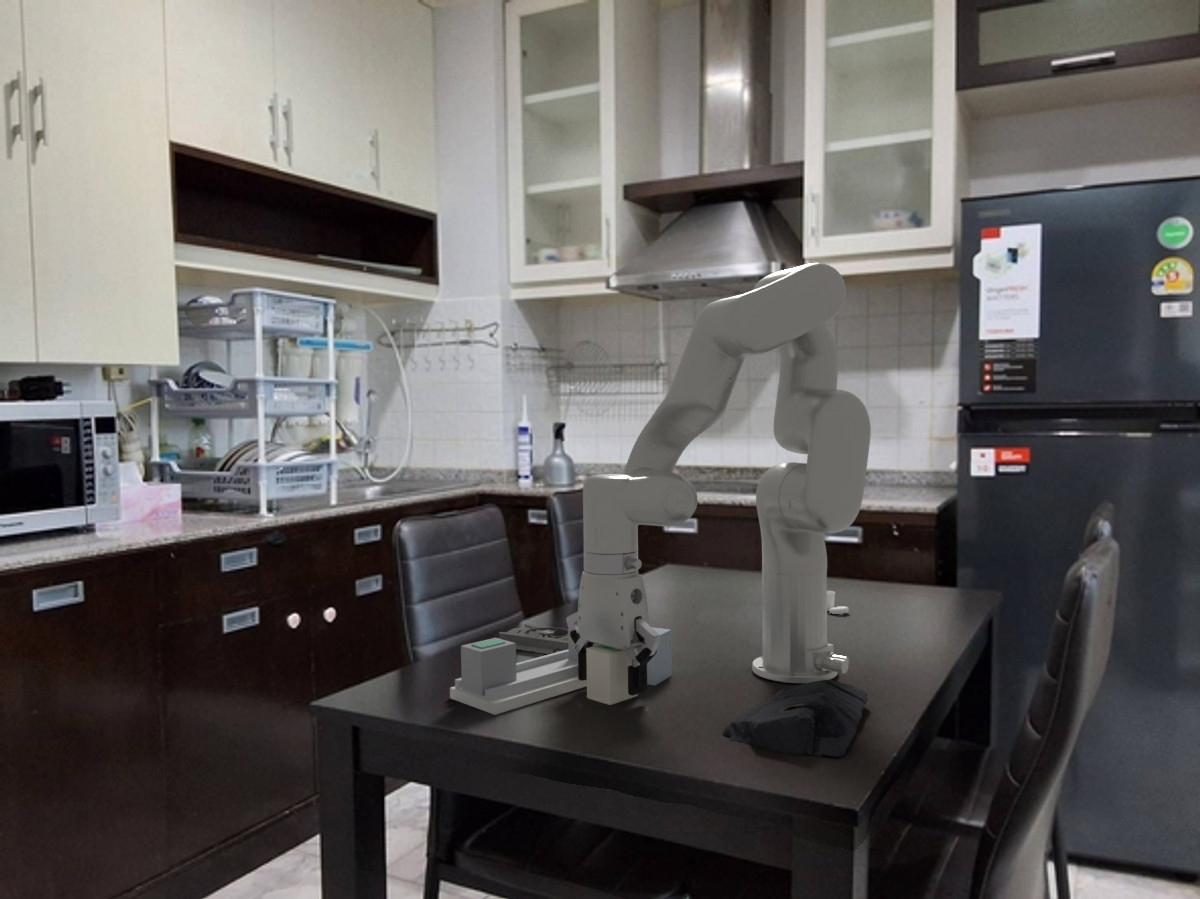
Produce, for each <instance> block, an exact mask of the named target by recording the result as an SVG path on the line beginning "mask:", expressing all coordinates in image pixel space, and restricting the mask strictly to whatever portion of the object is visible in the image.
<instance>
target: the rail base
mask: <svg viewBox="0 0 1200 899" xmlns="http://www.w3.org/2000/svg"><path fill="white" fill-rule="evenodd" d="M582 688H583V689H584V688H587V680H584V681H581V680H579V679H578V662H576V661H573V660H569V651H568V650H564V651H560V652H556V653H553V654H549V655H545V656H538V657H535V658H530V659H527V660H524V661H519V662H516V681H515V682H511V683H508V684H504V685H501V686H497V687H494V688H490V689H487V690H485V695H484V696H480V695H477V694H474V693H472V692H469V691H466V690H463V689H462V677H459V678H456V679H454V686H451V687H449V698H450V699H451V700H454V701H456V702H460V703H462V704H465V705H467V706H470V707H472V708H473V707H474V708H476V709H479V710H480V711H484V712H486V713H489V714H491V715H494V716H495V715H499V714H501V713H505V712H509V711H512V710H515V709H519V708H521V707H524V706H527V705H531V704H534V703H537V702H540V701H544V700H546V699H547V700H548V699H550V698H553V697H556V696H557V697H558V696H560V695H563V694H566V693H569V692H572V691H573V692H574V691H575V690H578V689H579V690H580V689H582Z"/></svg>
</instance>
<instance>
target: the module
mask: <svg viewBox="0 0 1200 899" xmlns="http://www.w3.org/2000/svg"><path fill="white" fill-rule="evenodd" d="M650 627H651V628H653V629H654V630H655V631H656V632H657V633H658V634H659V635H660V636H661V641H660V644H659V646H658V648H657V649H656V650H657V653H656V654H655V656H654V657H653V658H652V659H651V662H650V663H647V685H649V686H657V685H658V684H660V683H661V682H664V681H665V680H667V679H669V678H670V677H672V676H673V675H672V674H673V673H672V672H673V671H672V668H673V667H672V665H673V664H672V663H673V662H672V660H673V659H672V629H671V628H670V629H669V628H660V627H653V626H650ZM644 646H646V644H644ZM638 654H639V653H638V651H637V655H638Z"/></svg>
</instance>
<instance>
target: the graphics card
mask: <svg viewBox="0 0 1200 899" xmlns="http://www.w3.org/2000/svg"><path fill="white" fill-rule="evenodd" d="M523 625H524V626H522V627H515V628H511V629H510V630H508V631H506V632H504V631H499V633H498V636H499V637H498V638H499V639H502V640H506V641H510V642H513V643H516V650H520V649H521V651H527V652H532V651H533V652H532V653H533V654H534V655H533V656H538V657H541V656H543V655H544V654H547V655H549V654H553V653H556V652H560V651H564V650H568V628H563V627H556V626H555V627H552V626H546V625H539V624H538V625H536V624H530V623H526V624H525V623H524V624H523ZM544 656H545V655H544Z"/></svg>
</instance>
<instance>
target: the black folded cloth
mask: <svg viewBox="0 0 1200 899" xmlns="http://www.w3.org/2000/svg"><path fill="white" fill-rule="evenodd" d="M867 702H868V694H867V693H866V692H865V691H864V689H863V690H862V689H860V688H856V687H853V686H850V685H847V684H841V682H838V681H837V682H836V681H834V680H833V679H830V680H821V681H815V682H811V683H810V682H809V683H801V684H794V685H791V686H787V687H782V688H781V689H779V690H778V691H777V692H776V693H774V694H773V695H772V696H771V697H770V698H769V699H767V700H765V701H763V702H761V703H759V704H757V705H756V706H754V707H751V708H749V709H748V710H747V711H745V712H743V713H742V714H740V716H737V718H735V719H734V720H733V721H731V722H730V723H729V724H728V725H727V726H726V727H725V728H724V730H723V733H722V735H724V736H726V737H729V741H730V742H733V743H741V744H745V745H746V744H747V745H752V746H756V747H760V748H762V749H766V750H770V751H775V752H781V753H787V754H793V755H798V756H804V755H805V756H806V755H807V756H815V757H822V758H823V757H824V756H826V757H831V758H832V757H833V758H841V757H843V756H844V755H845V754H846V752H847V749H848V748H849V746H850V745H851V742H852V740H853V739H854V737H855V736H856V734H857V730H858V726H859V725H860V721H861V719H862V717H863V713H864V712H863V710H864V709H865V708H864V707H865V705H866V703H867Z"/></svg>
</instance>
